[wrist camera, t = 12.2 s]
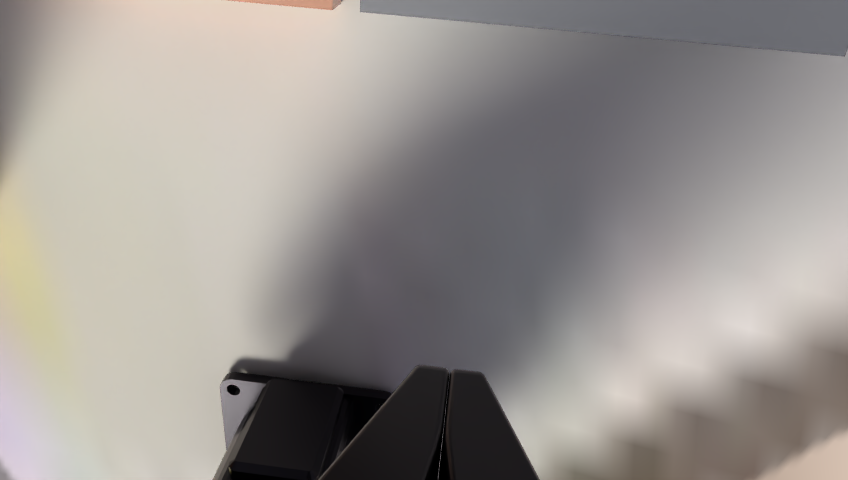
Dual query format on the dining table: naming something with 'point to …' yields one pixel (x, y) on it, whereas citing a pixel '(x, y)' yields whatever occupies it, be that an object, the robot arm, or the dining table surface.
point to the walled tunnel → (656, 19)
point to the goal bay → (299, 3)
